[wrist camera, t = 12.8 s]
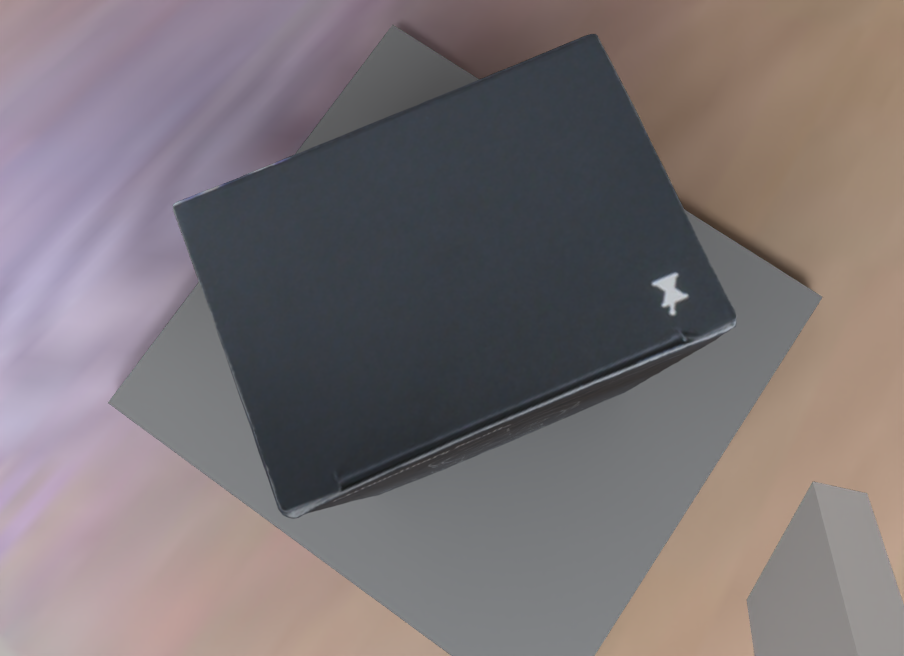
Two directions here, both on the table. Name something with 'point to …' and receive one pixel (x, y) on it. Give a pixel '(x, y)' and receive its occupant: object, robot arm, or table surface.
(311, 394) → the box
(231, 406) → the mat
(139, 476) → the table surface
